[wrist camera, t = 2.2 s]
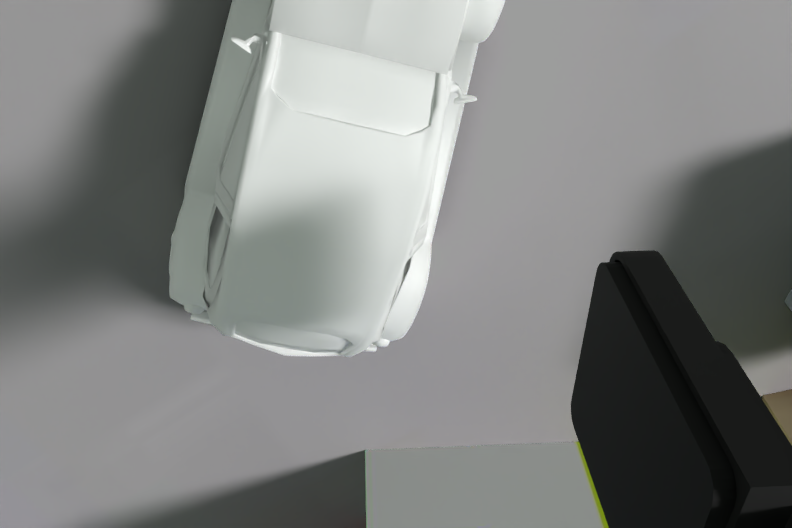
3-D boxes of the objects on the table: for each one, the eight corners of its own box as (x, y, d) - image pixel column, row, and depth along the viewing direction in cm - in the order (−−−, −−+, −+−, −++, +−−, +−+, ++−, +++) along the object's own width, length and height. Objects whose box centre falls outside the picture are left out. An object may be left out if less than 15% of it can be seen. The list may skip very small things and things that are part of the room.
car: (397, 323, 21) (406, 451, 17) (170, 281, 20) (127, 409, 16) (559, -144, 15) (632, -103, 11) (240, -245, 14) (196, -240, 10)
